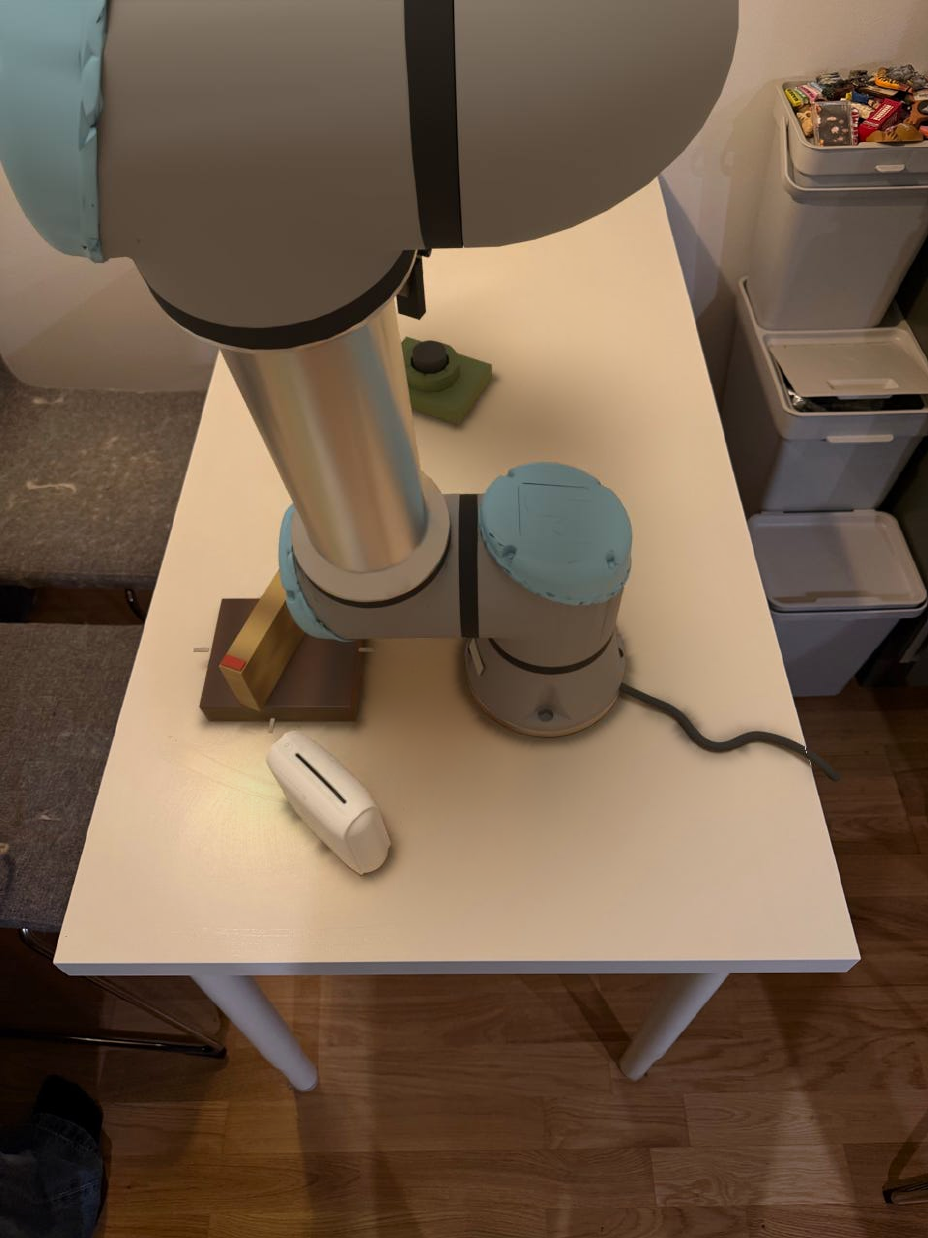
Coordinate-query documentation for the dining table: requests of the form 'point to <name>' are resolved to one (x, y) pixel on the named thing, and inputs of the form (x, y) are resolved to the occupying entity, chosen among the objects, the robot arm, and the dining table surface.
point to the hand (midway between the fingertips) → (412, 312)
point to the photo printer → (330, 801)
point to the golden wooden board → (262, 648)
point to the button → (429, 357)
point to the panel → (285, 676)
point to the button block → (445, 384)
